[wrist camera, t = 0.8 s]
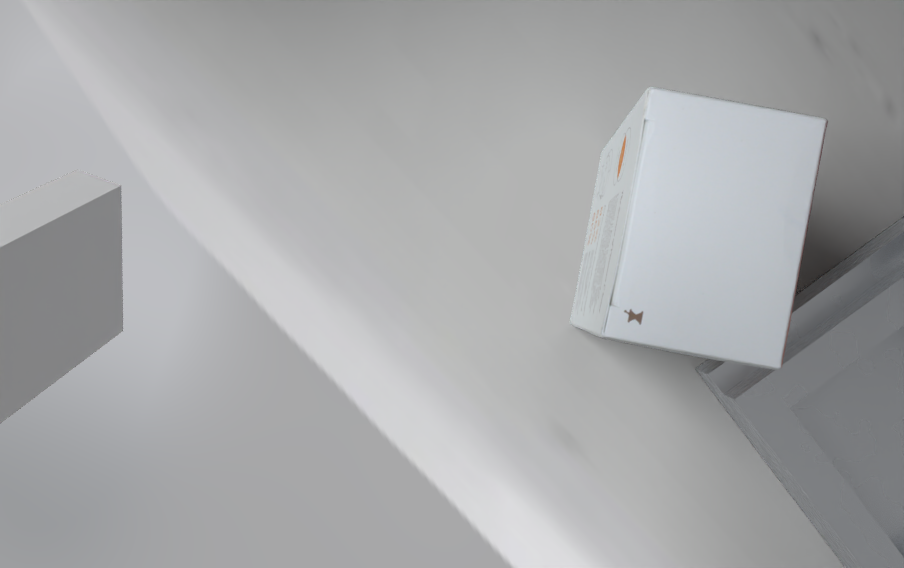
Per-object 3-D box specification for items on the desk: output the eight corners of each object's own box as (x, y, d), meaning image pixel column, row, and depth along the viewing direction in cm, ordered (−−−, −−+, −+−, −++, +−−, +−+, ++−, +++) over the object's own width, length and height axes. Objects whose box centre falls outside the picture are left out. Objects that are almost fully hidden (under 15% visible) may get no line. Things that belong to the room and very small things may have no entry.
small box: (692, 349, 33) (784, 379, 23) (565, 325, 33) (598, 343, 23) (727, 169, 33) (836, 114, 22) (600, 146, 33) (648, 81, 23)
